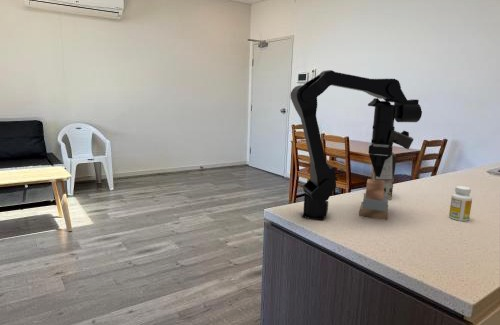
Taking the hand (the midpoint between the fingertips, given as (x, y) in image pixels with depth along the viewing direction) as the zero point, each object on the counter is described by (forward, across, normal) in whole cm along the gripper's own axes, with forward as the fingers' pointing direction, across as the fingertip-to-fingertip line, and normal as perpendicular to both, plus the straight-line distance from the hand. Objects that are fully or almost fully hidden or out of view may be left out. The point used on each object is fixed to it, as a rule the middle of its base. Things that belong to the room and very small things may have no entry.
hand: (378, 173), depth 108 cm
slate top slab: (+11, 0, 0) cm, 11 cm away
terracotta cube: (+8, 0, +1) cm, 8 cm away
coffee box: (+13, +22, -1) cm, 26 cm away
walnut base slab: (+14, 0, 0) cm, 14 cm away
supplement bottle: (+13, +7, -24) cm, 28 cm away
